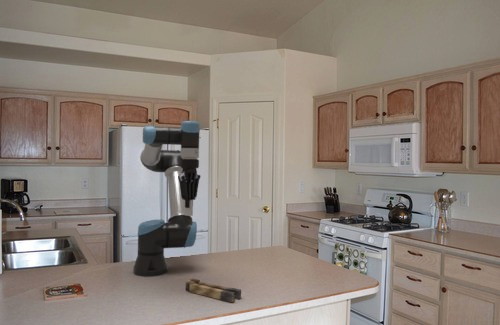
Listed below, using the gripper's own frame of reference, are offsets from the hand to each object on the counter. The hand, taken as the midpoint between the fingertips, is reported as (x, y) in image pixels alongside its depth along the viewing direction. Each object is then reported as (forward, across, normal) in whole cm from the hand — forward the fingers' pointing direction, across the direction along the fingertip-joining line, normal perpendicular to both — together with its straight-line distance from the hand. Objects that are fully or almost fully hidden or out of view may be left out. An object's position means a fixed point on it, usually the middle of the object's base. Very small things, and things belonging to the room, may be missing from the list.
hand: (188, 215), depth 165 cm
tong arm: (+28, -8, -16) cm, 33 cm away
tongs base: (+28, -6, -15) cm, 33 cm away
